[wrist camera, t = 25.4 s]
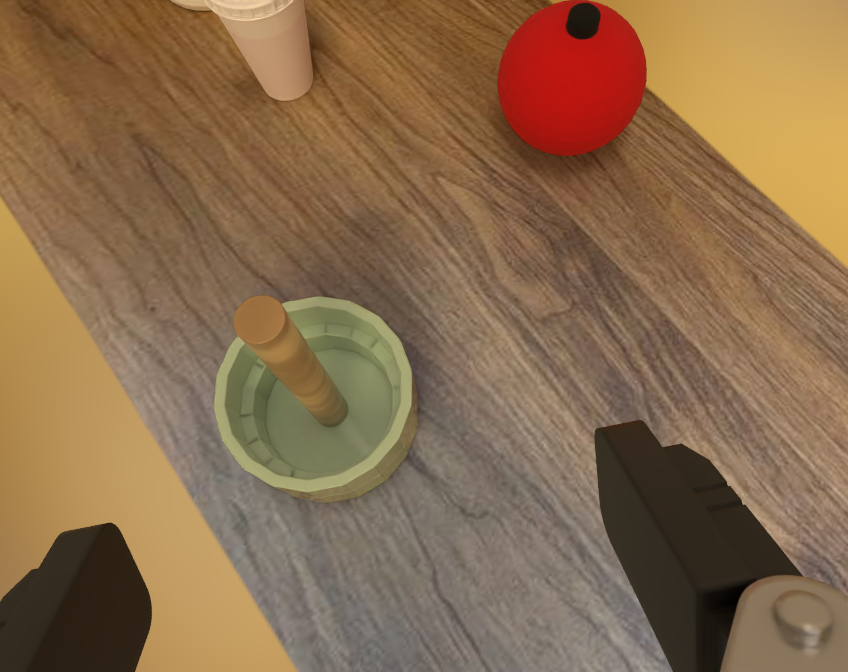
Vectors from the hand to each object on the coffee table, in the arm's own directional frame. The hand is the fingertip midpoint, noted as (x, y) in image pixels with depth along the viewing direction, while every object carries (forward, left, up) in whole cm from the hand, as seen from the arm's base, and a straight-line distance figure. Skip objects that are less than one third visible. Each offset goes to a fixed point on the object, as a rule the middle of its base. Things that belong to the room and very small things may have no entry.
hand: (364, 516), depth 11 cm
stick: (+9, +4, -27) cm, 29 cm away
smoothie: (+34, +4, -28) cm, 44 cm away
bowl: (+9, +4, -28) cm, 30 cm away
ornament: (+26, -14, -28) cm, 41 cm away
